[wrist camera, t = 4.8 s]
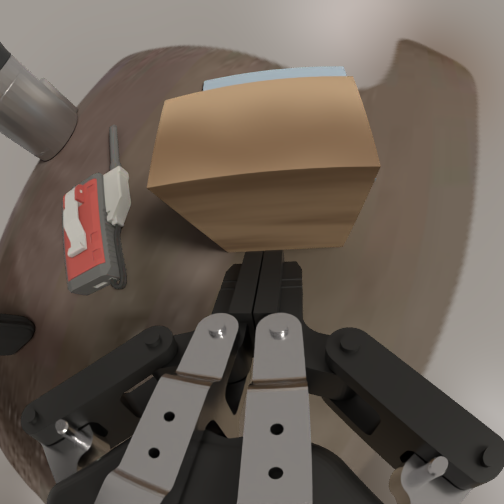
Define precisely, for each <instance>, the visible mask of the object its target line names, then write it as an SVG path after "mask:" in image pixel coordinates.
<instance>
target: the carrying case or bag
mask: <svg viewBox="0 0 504 504" xmlns="http://www.w3.org/2000/svg"><path fill="white" fill-rule="evenodd" d="M34 330H35V328H34V325H33V323H32V322H31V321H29V320H28V319H27V318H25V317H23V316H16V315H8V314H0V355H12V354H15V353H16V352H17V351H18V350H19V349H20V348H21V347H22V346H23V345H24V344H25V343H26V342H28V341H29V340H30V339H31V337H32V335H33V333H34Z"/></svg>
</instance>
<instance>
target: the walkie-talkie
mask: <svg viewBox="0 0 504 504" xmlns="http://www.w3.org/2000/svg"><path fill="white" fill-rule="evenodd" d="M109 135H110V160H111V165H110V171H109V172H108V173H106V174H105V175H102V174H100V173H96V174H93V175H91V176H90V177H88V178H87V179H86V180H84V181H83V182H81V183H80V184H79V185H75V186H74V187H72V189H71V191H69V192H68V193H67V194H65V195H64V197H63V201H62V232H63V245H64V248H63V249H64V259H65V269H66V279H67V284H68V289H69V291H70V292H71V293H76V294H82V295H89V294H91V293H93V292H96V291H98V290H100V289H102V288H104V287H106V286H108V285H110V284H111V285H112V286H113V287H114V288H115V289H123V288H124V287H125V285H126V283H127V275H126V269H125V264H124V258H123V253H122V248H121V245H122V244H121V243H120V240H121V238H120V232H121V227H122V226H124V221H125V219H126V216H127V213H128V211H129V208H130V206H131V199H130V192H129V184H128V179H129V175H128V172H127V171H125V170H124V169H123V168H122V167H121V163H120V162H119V149H118V140H117V126H116V125H112V126H111V127H110V128H109ZM119 280H120V283H119V284H118V283H117V281H119Z"/></svg>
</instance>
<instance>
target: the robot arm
mask: <svg viewBox="0 0 504 504" xmlns="http://www.w3.org/2000/svg"><path fill="white" fill-rule="evenodd" d="M77 110H78V109H77V108H76V107H75V106H74V105H73V104H72V103H71V102H70V101H69V100H68V99H67V98H66V97H64V96H63V95H62V94H61V93H60V92H59V91H58V90H57V89H56V88H55V87H54V86H53V85H52V84H51V83H50V82H48V81H47V80H46V79H45V78H42V79H40V80H39V79H38V78H36V77H35V76H34V75H33V74H32V73H31V72H30V71H29V70H28V69H27V68H25V67H24V66H23V65H22V64H21V63H20V62H19V61H18V60H17V59H16V58H15V57H14V56H13V55H11V53H9V52H8V51H7V50H6V49H5V47H4V46H3V45H2V44H1V42H0V132H1V133H2V134H4V135H5V136H7V137H8V138H10V139H11V140H12V141H14V142H15V143H17V144H19V145H20V146H22V147H23V148H24V149H26V150H27V151H29V152H31V153H32V154H34V155H35V156H36V157H38V158H40V159H41V160H43V161H47V160H49V159H51V158H53V157H54V156H55V155H56V154H57V153H58V152H59V151H60V150H61V149H62V148H63V146H64V145H65V144H66V142H67V141H68V139H69V138H70V136H71V135H72V133H73V131H74V129H75V126H76V123H77V114H76V113H77ZM252 357H254V365H253V379H252V383H251V384H249V382H250V378H251V369H250V368H251V363H252ZM151 374H152V375H153V376H154V377H152V378H151V379H150V380H148V381H147V382H145V383H144V384H142V385H141V386H139V387H138V388H136V389H135V390H133V391H132V392H130V393H124V392H126V391H127V390H129V389H130V388H132V387H133V386H135V385H136V384H138V383H139V382H141V381H142V380H144V379H145V378H147V377H148V376H150V375H151ZM247 389H248V390H247ZM246 393H247V399H246V411H245V423H244V434H243V437H239V432H240V425H239V421H240V415H241V412H242V408H243V404H244V401H245V397H246ZM308 393H310V394H314V395H317V396H321V397H322V399H323V400H324V401H325V403H326V404H327V405H328V406H329V407H330V408H331V409H332V410H333V411H334V412H335V413H336V414H337V415H338V416H339V417H340V418H341V419H342V420H343V421H344V422H345V423H346V424H347V425H348V426H349V427H350V428H351V429H352V430H353V431H355V432H356V433H357V434H358V435H359V436H360V437H361V438H362V439H363V440H364V441H365V442H366V443H367V444H368V445H369V446H370V447H371V448H372V449H373V450H374V451H376V452H377V453H378V454H379V455H380V456H381V457H382V458H383V459H384V460H385V461H386V462H388V463H389V464H390V465H391V466H392V467H393V468H394V469H395V470H394V472H393V473H392V475H391V477H390V481H389V489H390V492H391V494H392V495H393V496H394V498H395V499H396V501H397V504H461V502H462V501H463V500H464V499H465V497H466V496H467V495H468V493H469V492H470V491H471V490H472V489H473V488H475V487H477V486H479V485H482V484H484V483H487V482H489V481H490V480H492V479H494V478H495V477H496V476H497V475H498V474H499V473H500V472H501V471H502V469H503V467H504V441H503V439H502V438H501V437H500V436H499V435H497V434H496V433H495V432H493V431H492V430H491V429H490V428H488V427H487V426H486V425H485V424H483V423H482V422H481V421H479V420H478V419H477V418H476V417H474V416H473V415H472V414H471V413H469V412H468V411H467V410H465V409H464V408H463V407H462V406H460V405H459V404H458V403H456V402H455V401H454V400H452V399H451V398H450V397H449V396H447V395H446V394H445V393H444V392H442V391H441V390H440V389H438V388H437V387H436V386H435V385H433V384H432V383H431V382H429V381H428V380H427V379H425V378H424V377H423V376H422V375H420V374H419V373H418V372H416V371H415V370H414V369H413V368H411V367H410V366H409V365H407V364H406V363H405V362H403V361H402V360H401V359H400V358H398V357H397V356H396V355H394V354H393V353H392V352H390V351H389V350H388V349H387V348H385V347H384V346H383V345H381V344H380V343H379V342H377V341H376V340H375V339H374V338H372V337H371V336H370V335H368V334H367V333H366V332H364V331H362V330H360V329H357V328H342V329H339V330H337V331H335V332H333V333H332V334H331V335H326V334H322V333H318V332H316V331H313V330H312V329H310V328H309V327H308V326H307V325H306V324H305V323H304V321H303V289H302V269H301V267H300V266H299V265H298V263H297V262H296V261H294V262H284V253H283V250H265V252H264V251H246V252H245V255H244V259H243V262H242V264H233V265H232V266H231V267H230V268H229V269H228V271H227V272H226V274H225V277H224V280H223V282H222V285H221V290H220V291H219V294H218V297H217V300H216V303H215V306H214V309H213V311H212V314H211V315H209V316H207V317H205V318H204V319H203V320H202V321H200V323H199V324H198V326H197V328H196V330H195V331H192V332H189V333H184V334H179V335H174V336H173V334H172V332H171V331H170V330H169V329H168V328H166V327H164V326H153V327H150V328H148V329H146V330H144V331H142V332H141V333H139V334H138V335H136V336H135V337H133V338H132V339H130V340H129V341H127V342H125V343H124V344H122V345H121V346H119V347H118V348H116V349H115V350H113V351H111V352H110V353H108V354H107V355H105V356H104V357H102V358H101V359H99V360H97V361H96V362H94V363H93V364H91V365H90V366H88V367H86V368H85V369H83V370H82V371H80V372H79V373H77V374H75V375H74V376H72V377H71V378H69V379H68V380H66V381H64V382H63V383H61V384H60V385H58V386H57V387H55V388H53V389H52V390H50V391H49V392H47V393H46V394H44V395H42V396H41V397H39V398H38V399H36V400H34V401H33V402H31V403H30V404H28V405H27V406H26V408H25V409H24V411H23V413H22V416H21V425H22V428H23V430H24V431H25V432H26V433H27V434H29V435H30V436H31V437H33V438H34V439H36V440H37V441H39V442H40V443H41V444H42V446H43V449H44V452H45V455H46V458H47V461H48V463H49V466H50V469H51V471H52V474H53V476H54V479H55V481H56V485H55V486H54V487H53V488H52V489H51V491H50V493H49V495H48V498H47V504H384V503H382V502H381V500H380V499H379V498H378V497H377V496H376V495H375V494H373V492H372V491H371V490H370V489H369V488H368V487H367V486H366V485H365V484H364V483H363V482H362V481H361V480H360V479H359V478H358V477H357V476H356V474H355V473H354V472H353V471H352V470H351V469H350V468H349V467H348V466H347V465H346V464H345V462H344V461H343V460H342V459H341V458H339V457H338V456H337V455H336V454H334V453H333V452H331V451H330V450H328V449H326V448H324V447H322V446H320V445H317V444H314V443H311V430H310V412H309V396H308ZM132 435H133V436H132ZM130 436H132V437H130ZM129 437H130V438H129ZM127 438H129V439H127ZM125 439H127V440H126V441H124V440H125ZM122 441H124V442H123V443H121V442H122ZM119 443H121V444H120V445H118V446H117V447H115V448H114V449H112V450H111V451H110V449H111V448H113V447H114V446H116V445H117V444H119Z"/></svg>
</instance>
